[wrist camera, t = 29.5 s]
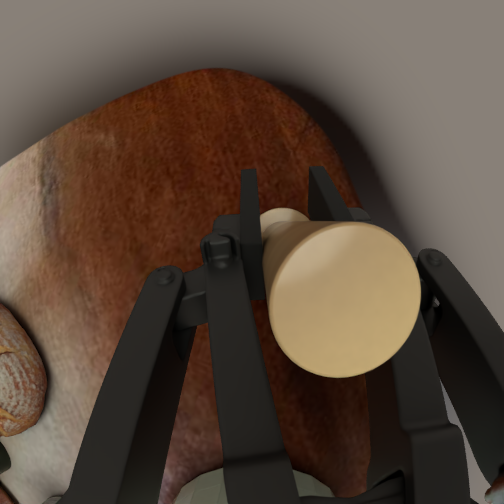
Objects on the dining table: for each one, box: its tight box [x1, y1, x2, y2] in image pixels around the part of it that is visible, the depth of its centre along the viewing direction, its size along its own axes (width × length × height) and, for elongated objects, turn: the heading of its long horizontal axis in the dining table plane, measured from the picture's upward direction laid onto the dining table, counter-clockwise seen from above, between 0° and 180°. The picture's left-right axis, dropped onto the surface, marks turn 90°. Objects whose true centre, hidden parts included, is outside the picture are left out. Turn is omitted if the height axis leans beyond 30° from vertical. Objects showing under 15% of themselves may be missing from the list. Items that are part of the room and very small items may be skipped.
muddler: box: [260, 208, 421, 378], centre depth 14 cm, size 4×4×18 cm
